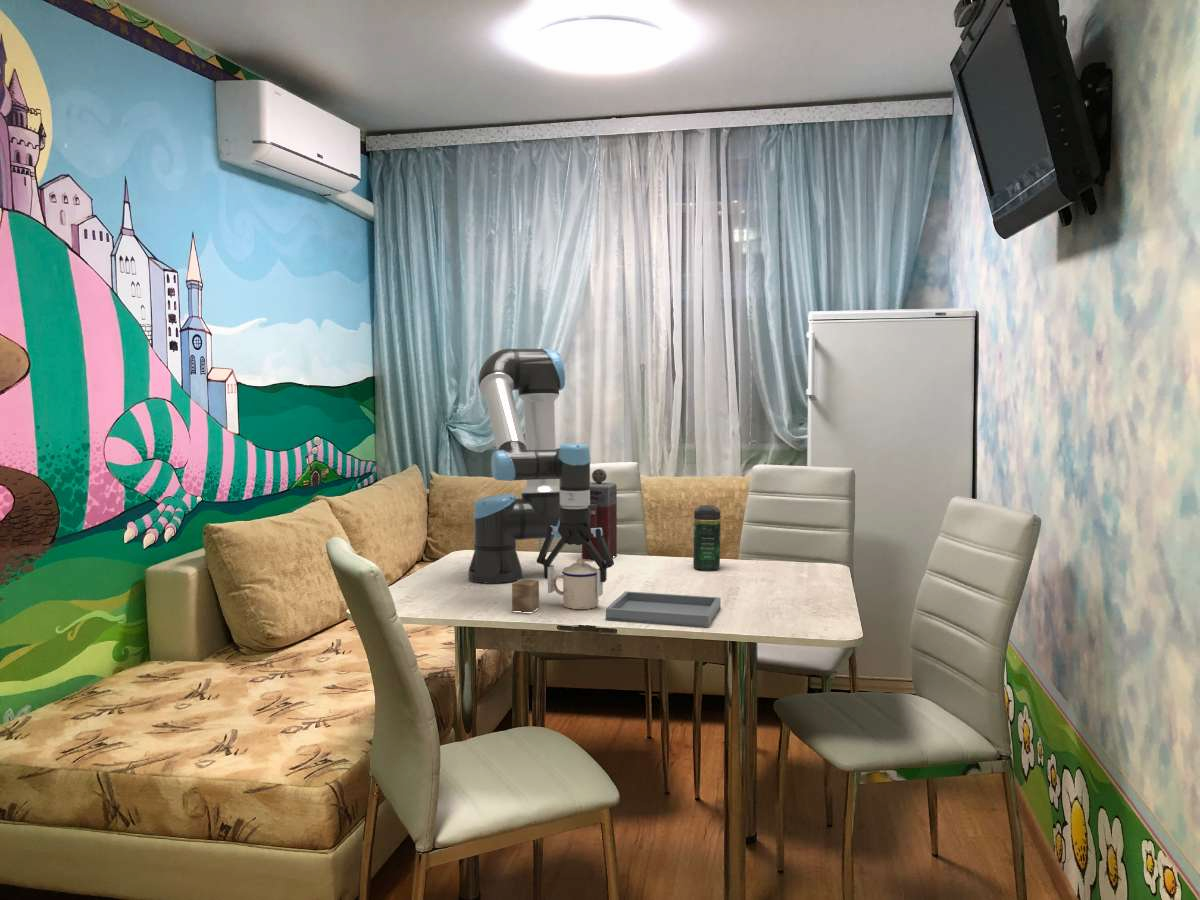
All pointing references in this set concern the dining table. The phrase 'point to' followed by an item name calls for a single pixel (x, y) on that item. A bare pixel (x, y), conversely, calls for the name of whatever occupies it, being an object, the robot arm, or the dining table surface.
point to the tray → (664, 609)
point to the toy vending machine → (603, 512)
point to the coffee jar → (706, 538)
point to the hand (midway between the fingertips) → (575, 593)
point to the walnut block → (525, 595)
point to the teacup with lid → (578, 586)
